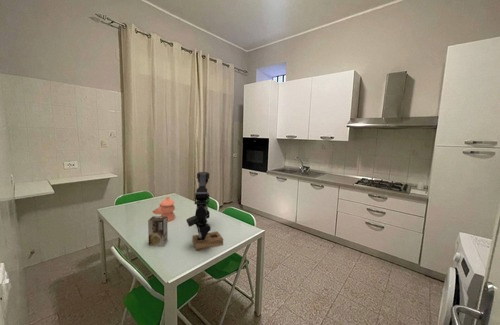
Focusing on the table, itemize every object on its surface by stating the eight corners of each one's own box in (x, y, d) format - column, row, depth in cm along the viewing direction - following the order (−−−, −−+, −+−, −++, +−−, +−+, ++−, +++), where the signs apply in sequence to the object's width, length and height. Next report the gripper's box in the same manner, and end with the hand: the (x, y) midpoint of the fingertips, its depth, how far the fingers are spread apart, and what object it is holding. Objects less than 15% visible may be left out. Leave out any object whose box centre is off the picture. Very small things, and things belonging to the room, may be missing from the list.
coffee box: (168, 241, 124) (168, 216, 122) (163, 247, 118) (163, 220, 116) (152, 241, 124) (152, 215, 122) (148, 246, 117) (147, 220, 116)
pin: (197, 242, 123) (198, 228, 122) (202, 241, 124) (203, 227, 123) (199, 245, 120) (199, 230, 119) (204, 244, 121) (204, 229, 120)
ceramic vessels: (144, 212, 171) (144, 191, 170) (170, 208, 184) (170, 188, 183) (154, 227, 144) (154, 201, 142) (183, 221, 157) (183, 197, 155)
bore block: (192, 241, 125) (192, 235, 125) (217, 237, 132) (217, 231, 132) (196, 250, 115) (196, 243, 115) (222, 245, 123) (223, 238, 122)
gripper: (184, 208, 125) (184, 232, 126) (190, 219, 108) (190, 246, 110) (202, 206, 130) (202, 229, 131) (211, 216, 113) (210, 242, 115)
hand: (201, 236), depth 121 cm, fingers open, 9 cm apart
